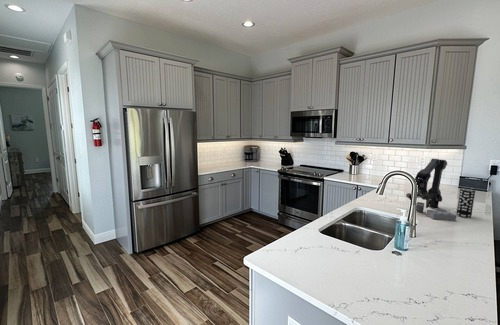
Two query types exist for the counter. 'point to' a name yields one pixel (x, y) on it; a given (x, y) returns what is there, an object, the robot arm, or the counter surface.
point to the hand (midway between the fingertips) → (419, 207)
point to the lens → (419, 207)
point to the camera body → (441, 214)
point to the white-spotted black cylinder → (465, 203)
